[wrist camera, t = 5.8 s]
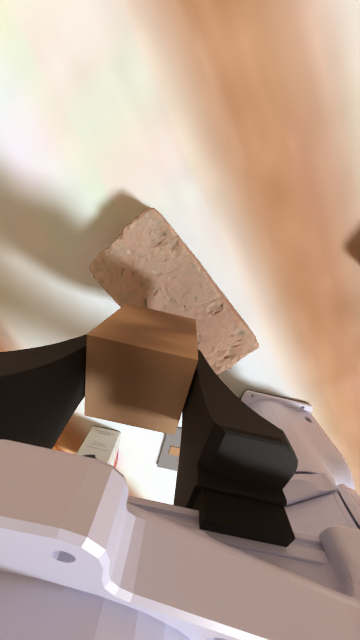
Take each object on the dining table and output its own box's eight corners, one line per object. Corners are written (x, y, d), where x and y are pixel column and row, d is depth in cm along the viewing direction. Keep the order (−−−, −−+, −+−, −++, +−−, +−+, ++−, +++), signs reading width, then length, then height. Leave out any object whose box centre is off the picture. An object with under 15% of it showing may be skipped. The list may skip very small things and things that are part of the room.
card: (212, 435, 27) (213, 437, 27) (196, 472, 31) (196, 475, 30) (169, 425, 27) (168, 427, 27) (157, 464, 31) (157, 467, 30)
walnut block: (195, 319, 12) (198, 360, 8) (180, 375, 14) (174, 435, 10) (126, 303, 12) (86, 334, 8) (119, 361, 14) (84, 415, 9)
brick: (103, 265, 19) (77, 269, 15) (158, 208, 17) (146, 192, 13) (195, 364, 23) (196, 390, 19) (250, 329, 21) (266, 349, 17)
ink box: (117, 463, 31) (77, 577, 20) (90, 458, 31) (35, 569, 20) (121, 431, 28) (76, 544, 17) (92, 424, 28) (27, 534, 17)
